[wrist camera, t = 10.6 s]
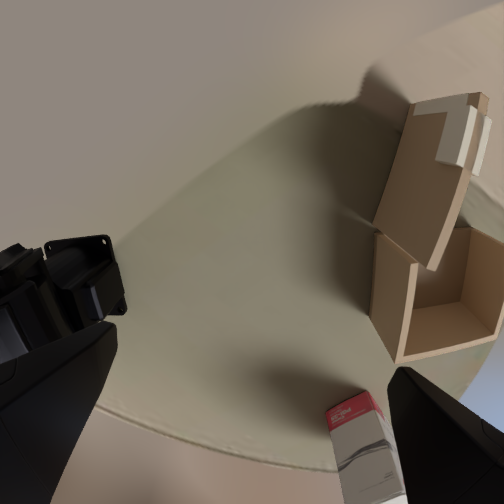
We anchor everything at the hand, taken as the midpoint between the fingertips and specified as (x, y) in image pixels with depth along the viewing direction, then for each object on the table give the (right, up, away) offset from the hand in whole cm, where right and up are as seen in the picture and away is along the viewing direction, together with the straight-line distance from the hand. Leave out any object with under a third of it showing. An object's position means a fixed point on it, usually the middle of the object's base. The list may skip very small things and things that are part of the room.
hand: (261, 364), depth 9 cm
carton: (+13, +2, +13) cm, 18 cm away
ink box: (+11, -14, +19) cm, 26 cm away
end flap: (+10, +9, +10) cm, 17 cm away
